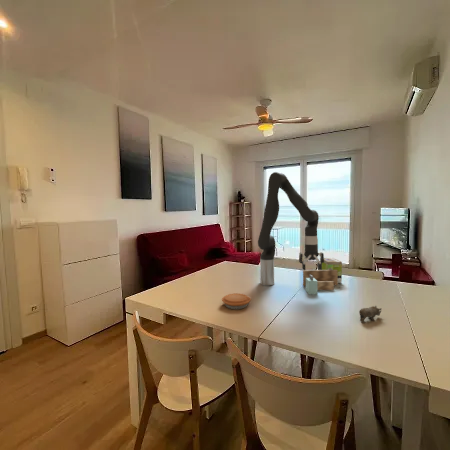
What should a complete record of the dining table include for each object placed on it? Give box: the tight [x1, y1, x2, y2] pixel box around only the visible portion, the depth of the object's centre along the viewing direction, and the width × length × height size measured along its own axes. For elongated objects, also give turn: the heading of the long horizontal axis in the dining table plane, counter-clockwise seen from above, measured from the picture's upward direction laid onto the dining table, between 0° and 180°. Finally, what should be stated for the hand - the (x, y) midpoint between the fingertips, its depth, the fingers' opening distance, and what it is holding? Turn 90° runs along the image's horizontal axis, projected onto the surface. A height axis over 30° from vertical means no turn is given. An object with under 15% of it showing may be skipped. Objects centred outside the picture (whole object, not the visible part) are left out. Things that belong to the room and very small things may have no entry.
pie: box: [221, 292, 252, 310], centre depth 135 cm, size 16×16×5 cm
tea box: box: [319, 257, 343, 284], centre depth 177 cm, size 15×10×15 cm, turn 179°
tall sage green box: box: [305, 275, 318, 295], centre depth 153 cm, size 5×6×10 cm
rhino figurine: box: [359, 305, 382, 324], centre depth 114 cm, size 4×14×6 cm, turn 112°
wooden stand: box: [302, 269, 339, 291], centre depth 162 cm, size 22×10×10 cm, turn 88°
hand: (311, 269), depth 152 cm, fingers open, 8 cm apart
